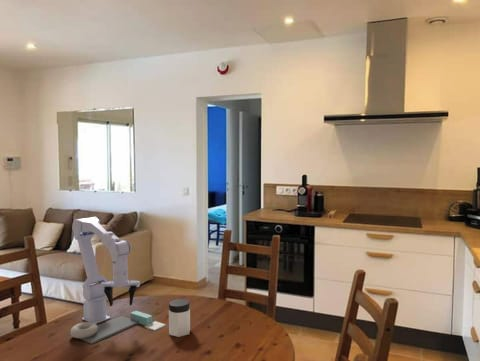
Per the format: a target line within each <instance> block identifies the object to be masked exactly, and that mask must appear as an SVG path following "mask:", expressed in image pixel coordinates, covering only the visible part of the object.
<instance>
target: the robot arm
mask: <svg viewBox="0 0 480 361" xmlns="http://www.w3.org/2000/svg"><path fill="white" fill-rule="evenodd" d="M71 229H72V233H73V236H74V239H75V240H76V241H77V243H78V244H77V245H78V248H79V251H80V256H81V259H82V264H83V267H84V271H85V274H86V279H85V280H84V282H83V283H82V296H83V298H84V301H83V317H82V318H81V319H82V320H84V322H93V323H95V324H96V325H98V324H99V323H102V322H104V321H105V322H106V321H108V320H109V319H110V320H111V318H112V317H111V316H110V315H107V301H106V300H108V304H109V306H110V307H112V306H113V305H114V298H113V294H114V291H113V290H114V288H128V292H129V294H128V295H129V306H132V305H133V300H134V297H135V293H136V290H137V288H140V286H141V285H140V280H132V279H131V280H130V279H129V266H128V265H129V264H128V263H129V262H128V259H129V258H128V257H129V256H128V255H129V254H130V253H131V244H130V242H129V241H128V240H127V239H120V237H118V236H117V235H116V234H115V233H114V232H113V231H107V230H106V229H105V228H104V227H103V226H102V225H101V221H100V218H99V219H98V217H97V216H91V217H84V218H75V219H74V220H73V222H72V225H71ZM95 236H97V237H98V238H100V243H102V245H104V246H105V248H107V249H108V252H109V255H110V260H111V261H112V280H109V281H108V280H107V277H105V276H104V275H101V274H100V271H99V266H98V262H97V260H96V255H95V253H94V251H95V250H94V247H93V244H92V238H94V237H95Z"/></svg>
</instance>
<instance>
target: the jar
mask: <svg viewBox="0 0 480 361" xmlns="http://www.w3.org/2000/svg"><path fill="white" fill-rule="evenodd" d="M190 303H191V302H190V300H188V299H184V298H176V299H173V300H170V301H169V303H168V309H169V310H168V334H169V335H170V336H174V337H178V338H179V337H184V336H187V335H190V332H191V304H190Z"/></svg>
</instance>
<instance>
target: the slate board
mask: <svg viewBox="0 0 480 361" xmlns="http://www.w3.org/2000/svg"><path fill="white" fill-rule="evenodd" d="M138 324H139V323H138V322H137V321H135V320H132V319H131V318H129V317H126V316H123V315H120V316H117V317H115V318H112V319H110V320H106V321H105V322H103V323H102V322H101V324H96V325H97V326H98V330H97V332H96V333H95V334H94V335H92V336H90V337H87V338H78V339H79V340H81V341H83V342H86V343H88V344H90V345H93V344H95V343H99V342H100V341H102V340H104V339H106V338H109V337H112V336H113V335H116V334H118V333H120V332H123V331H124V330H127V329H129V328H132V327H134V326H136V325H138Z"/></svg>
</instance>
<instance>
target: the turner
mask: <svg viewBox="0 0 480 361" xmlns="http://www.w3.org/2000/svg"><path fill="white" fill-rule="evenodd" d="M129 315H130V318H129V319H132V320H135V321H137V322H138V324H140V325H142V326H143V327H144V328H145V329H148V330H150V331H153V332H156V331H158V330H159V329H162V328H164V327H165V326H166V325H167V324H166V323H162V322H159V321H157V320H154V321H153V315H151V314H149V313H145V312H141V311H138V310H133V311H132V312H130V313H129Z"/></svg>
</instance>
